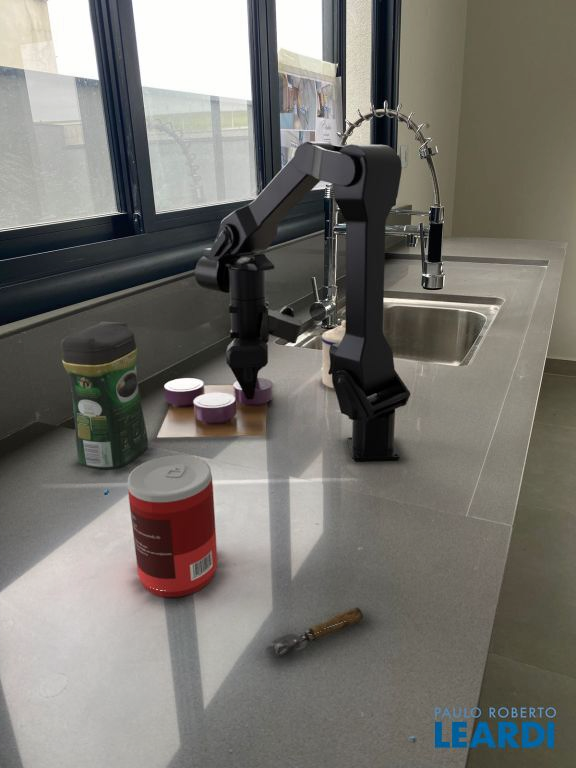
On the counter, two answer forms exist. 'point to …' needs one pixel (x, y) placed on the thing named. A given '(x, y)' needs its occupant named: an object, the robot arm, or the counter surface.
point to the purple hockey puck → (183, 391)
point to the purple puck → (261, 393)
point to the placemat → (242, 424)
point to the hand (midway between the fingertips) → (251, 389)
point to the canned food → (173, 524)
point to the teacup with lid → (328, 340)
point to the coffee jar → (105, 395)
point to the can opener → (302, 639)
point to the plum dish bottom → (214, 407)
